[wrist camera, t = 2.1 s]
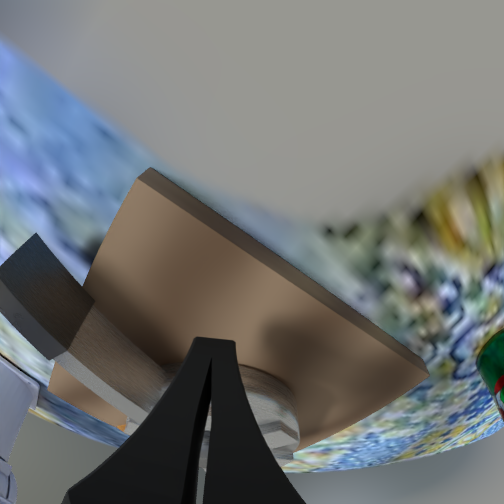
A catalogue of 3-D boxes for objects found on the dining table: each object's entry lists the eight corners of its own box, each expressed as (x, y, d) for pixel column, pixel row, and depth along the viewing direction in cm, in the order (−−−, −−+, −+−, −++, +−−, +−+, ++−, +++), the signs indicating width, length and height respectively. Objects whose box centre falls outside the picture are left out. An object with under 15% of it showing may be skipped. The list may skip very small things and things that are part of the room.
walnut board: (53, 376, 19) (46, 392, 17) (150, 166, 11) (134, 179, 9) (245, 457, 25) (245, 471, 23) (422, 359, 17) (431, 377, 16)
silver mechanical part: (320, 418, 17) (327, 463, 14) (203, 447, 20) (199, 484, 17) (96, 169, 9) (39, 208, 6) (-1, 282, 12) (-34, 322, 9)
